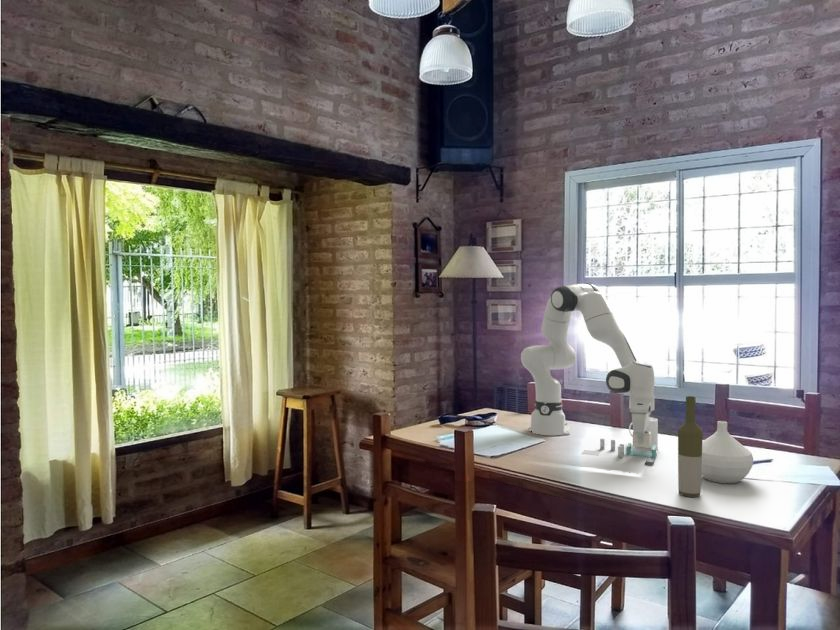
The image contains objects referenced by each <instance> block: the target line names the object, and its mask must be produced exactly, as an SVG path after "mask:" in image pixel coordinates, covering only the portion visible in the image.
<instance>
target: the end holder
mask: <svg viewBox="0 0 840 630" xmlns="http://www.w3.org/2000/svg"><path fill="white" fill-rule="evenodd" d="M625 451H626V452H625V453H626V456H636V457H643V458H647V457H651V458H655V456H656V453H657V450H656V446H655V445H654V446H653V448H652V451H639V450H632V442H628V444H627V445H626V447H625ZM651 452H652V453H651ZM656 457H657V456H656Z"/></svg>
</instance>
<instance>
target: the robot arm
mask: <svg viewBox="0 0 840 630" xmlns="http://www.w3.org/2000/svg"><path fill="white" fill-rule="evenodd" d="M600 291H601V290H600V289H599V287H598V286H597V285H595V284H592V283H588V282H587V283H586V282H585V283H574V284H567V285H561V286H557V287H556V288H554V289H553V290H552V291H551V295H550V296H549V299H548V300H547V304H546V307H545V310H544V314H543V320H542V324H541V328H540V330H541V334H542V335H543V336H544V337H545V338H546V339H547V340H549V343H548V344H546V345H544V344H543V345H540V344H539V345H538V344H537V345H531V346H528V347H527V346H526V347H525V348H523V350H522V351H521V354H520V361H521V364H522V366H523V367H524V368H525V369H526V370H527V371H528V372H529V373H530V374H531V376H532V378H533V380H534V388H535V389H534V390H535V400H534V410H533V411H532V412H531V413H530V414H531V416H530V427H526V429H527V430H529V431H528V432H531V431H532V432H531V433H532V434H535V433H536V434H535V435H539V434H540V435H541V436H562V435H566V436H567V435H570V433H571V426H570V425H568V423H567V422H566V414H565V413H564V411H563V400H562V385H561V383H560V381H559V380H557V379H556V378H554V377H552V374H551V370H554V371H555V370H565V369H569V368H572V367H573V366H574V365H575V364H576V361H577V353H576V350H575V349H574V348H573V347H572V346H571V345H570V343H569V340H568V332H569V327H570V326H569V325H570V321H571V315H572V312H581V314H582V316H583V320H584V324H585V327H586V329H587V332H588V333H589V334H590V336H591V337H592V338H593V339H594V340H595V341H598V342H602V344H603V343H604V344H605V345H607V346H608V347H610V348H611V349H612V350H613V351H614V354H615V355H616V358H617V359H618V361H619V364H620V367H619V368H615V369H612V370H610V371H609V372H608V373H607V374H606V377H605V384H606V387H607V389H608V390H609V391H610V392H611V393H613V394H618V395H619V394H620V395H621V394H628V395H629V397H628V398H629V403H628V404H629V406H628V407H629V411H630V413H631V422H632V433H633V432H634V433H635V434H637V436H638V443H643V434H644V433H645V431H646V429H647V427H648V425H649V417H650V415H651V413H652V411H653V412H654V411H655V395H654V394H655V393H654V389H655V371H654V367H653V365H652V364H651V363H648V362H646V361H642V360H637V359H636V357H635V354H634V352H633V350H632V348H631V346H630V344H629V342H628V339H627V338H626V336H625V335H624V333H623V331H622V330H621V329H620V327H619V325H618V323H617V321H616V320H615V316H614V314H613V312H612V309H611V307H610V305H609V302H608V301H607V299H606V297H605V296H604V294H603V293H602V292H600Z"/></svg>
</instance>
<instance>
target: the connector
mask: <svg viewBox="0 0 840 630" xmlns="http://www.w3.org/2000/svg"><path fill="white" fill-rule="evenodd" d="M632 435H633V437H632V446H635V447H639V446H643V447H642V448H644V447H650V445H651V432H649V431H645V433H644V434H643V443H638V436H637V434H635V433H634V432H633V431H632Z"/></svg>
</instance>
